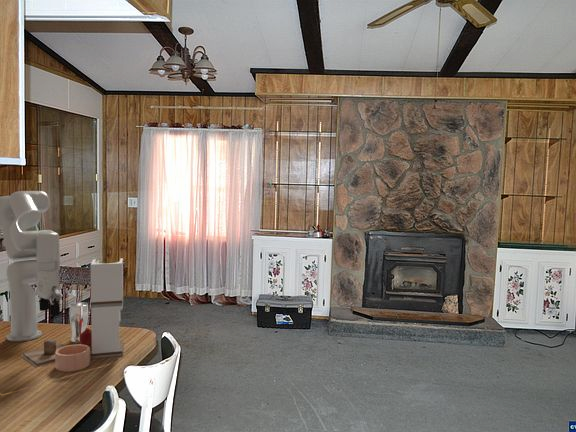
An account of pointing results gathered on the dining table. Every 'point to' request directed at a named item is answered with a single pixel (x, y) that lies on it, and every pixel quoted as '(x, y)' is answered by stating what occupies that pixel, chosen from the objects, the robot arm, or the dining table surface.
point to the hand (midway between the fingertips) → (49, 312)
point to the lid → (43, 353)
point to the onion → (86, 337)
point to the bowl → (72, 357)
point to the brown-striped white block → (106, 308)
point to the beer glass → (78, 319)
